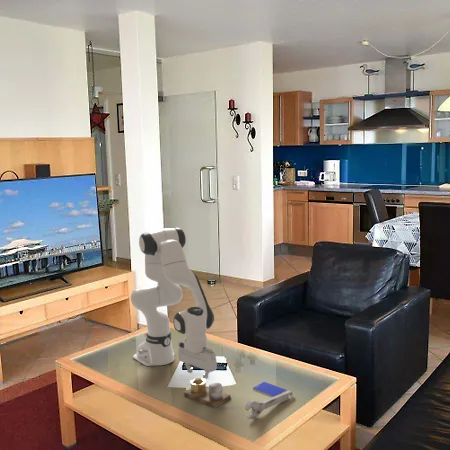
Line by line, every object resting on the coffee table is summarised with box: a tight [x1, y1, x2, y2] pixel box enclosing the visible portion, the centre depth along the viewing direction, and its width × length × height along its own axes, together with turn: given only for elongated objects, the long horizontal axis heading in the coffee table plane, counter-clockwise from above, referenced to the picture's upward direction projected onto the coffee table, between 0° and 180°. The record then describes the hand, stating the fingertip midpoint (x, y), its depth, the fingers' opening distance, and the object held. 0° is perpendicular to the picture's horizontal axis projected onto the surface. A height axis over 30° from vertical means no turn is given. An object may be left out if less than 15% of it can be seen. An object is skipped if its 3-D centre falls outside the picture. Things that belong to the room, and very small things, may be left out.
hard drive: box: [252, 381, 288, 398], centre depth 237 cm, size 2×8×12 cm
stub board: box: [183, 377, 232, 408], centre depth 232 cm, size 18×10×6 cm, turn 49°
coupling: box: [190, 378, 207, 394], centre depth 236 cm, size 6×6×4 cm
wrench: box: [244, 390, 294, 420], centre depth 220 cm, size 8×2×30 cm
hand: (197, 375), depth 235 cm, fingers open, 8 cm apart
